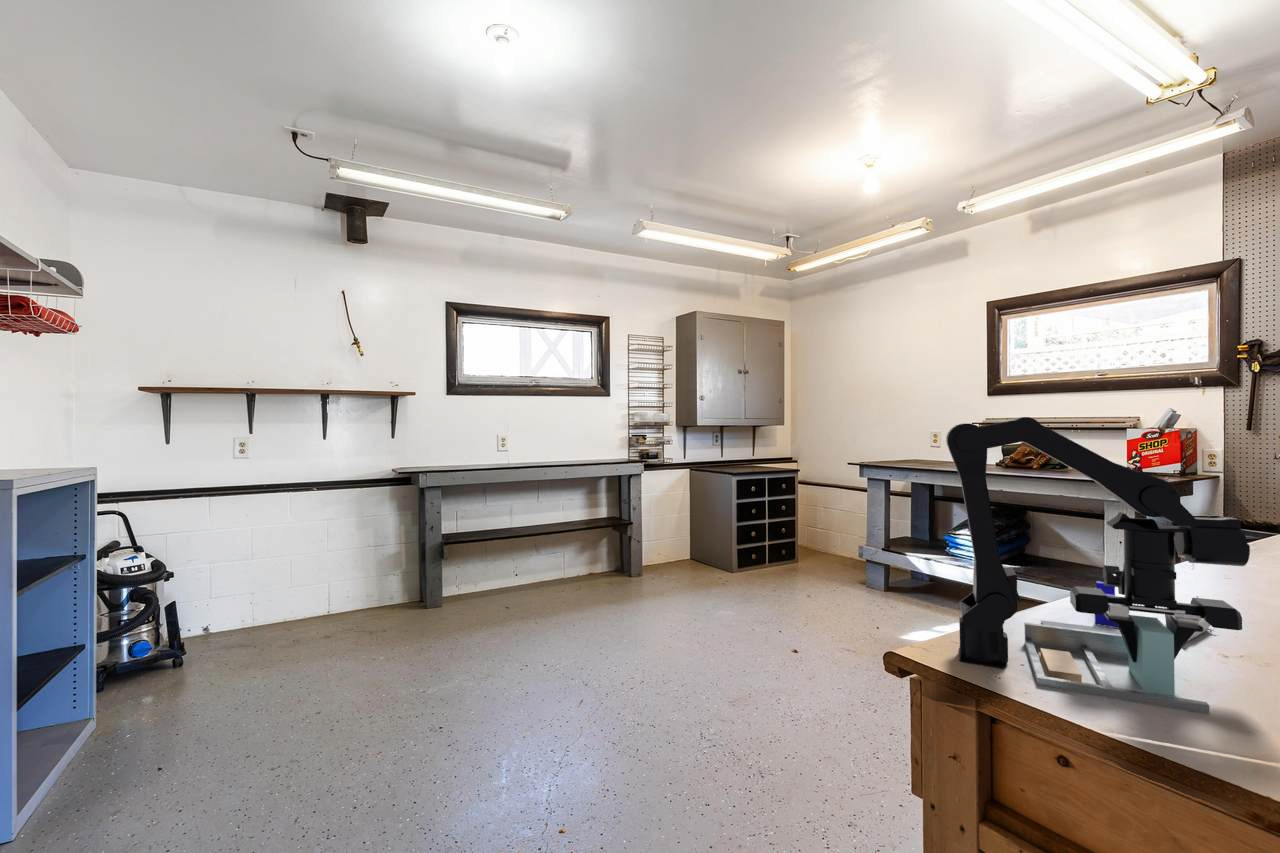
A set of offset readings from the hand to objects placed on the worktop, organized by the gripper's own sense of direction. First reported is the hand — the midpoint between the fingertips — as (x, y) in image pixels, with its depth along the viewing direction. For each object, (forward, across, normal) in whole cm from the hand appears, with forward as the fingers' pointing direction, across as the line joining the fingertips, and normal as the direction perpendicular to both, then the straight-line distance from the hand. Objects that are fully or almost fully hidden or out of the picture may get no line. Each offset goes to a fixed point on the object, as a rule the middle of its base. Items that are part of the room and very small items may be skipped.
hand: (1150, 663), depth 87 cm
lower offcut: (+4, +11, 0) cm, 12 cm away
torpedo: (+4, -12, -29) cm, 31 cm away
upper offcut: (+3, +11, +1) cm, 12 cm away
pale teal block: (+3, 0, 0) cm, 3 cm away
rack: (+3, +6, 0) cm, 6 cm away
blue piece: (+3, -1, -34) cm, 34 cm away
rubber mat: (+3, +4, -18) cm, 19 cm away
